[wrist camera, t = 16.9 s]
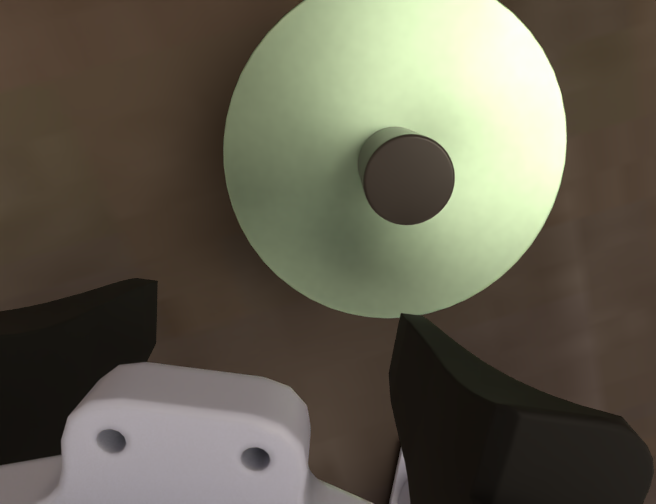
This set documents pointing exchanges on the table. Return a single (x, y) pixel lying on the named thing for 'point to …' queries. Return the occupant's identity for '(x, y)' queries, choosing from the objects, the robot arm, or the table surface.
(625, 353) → the table surface
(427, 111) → the lid
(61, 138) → the table surface
